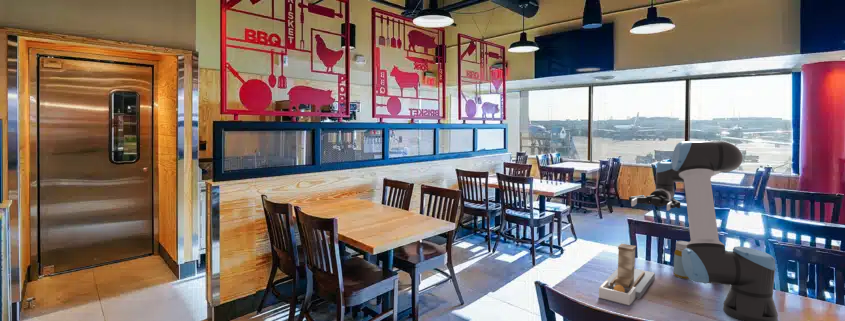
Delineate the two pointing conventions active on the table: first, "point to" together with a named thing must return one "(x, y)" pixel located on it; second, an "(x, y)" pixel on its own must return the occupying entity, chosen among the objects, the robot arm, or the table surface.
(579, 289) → the table surface
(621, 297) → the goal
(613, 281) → the lane rails
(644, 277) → the platform
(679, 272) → the bottle
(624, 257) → the tan tall block
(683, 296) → the table surface
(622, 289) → the ball
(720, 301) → the table surface
